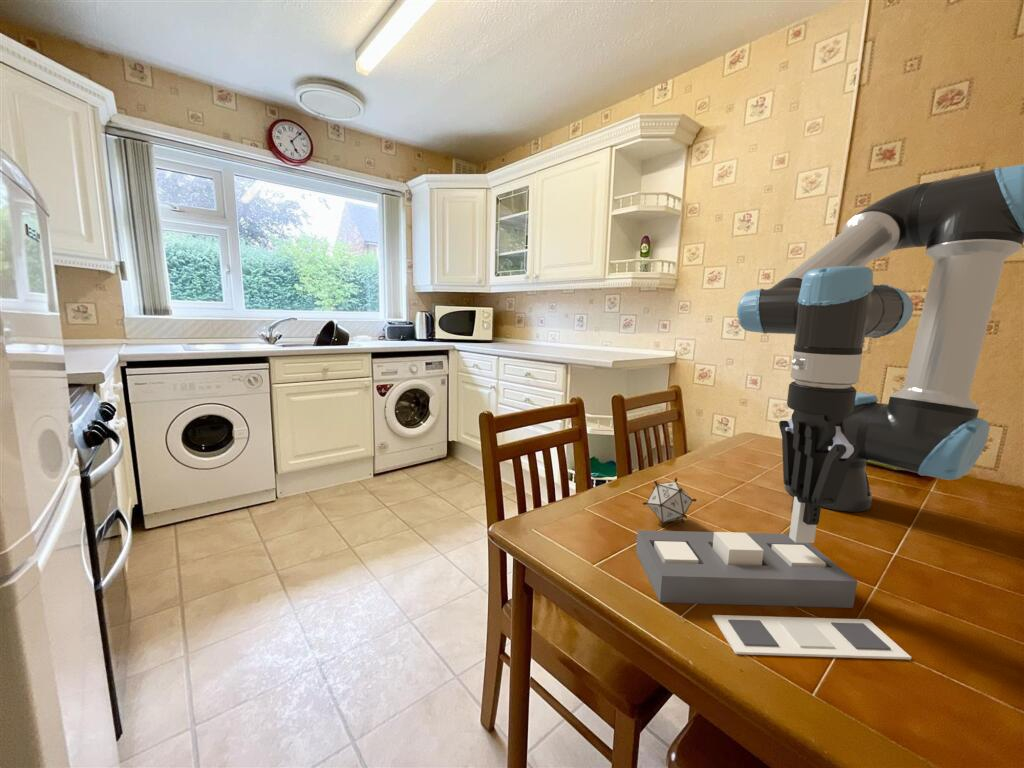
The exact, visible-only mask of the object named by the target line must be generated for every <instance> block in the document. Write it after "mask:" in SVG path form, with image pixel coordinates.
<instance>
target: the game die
mask: <svg viewBox="0 0 1024 768" xmlns="http://www.w3.org/2000/svg"><path fill="white" fill-rule="evenodd" d="M653 484H654V485H655V486H653V487H652V489H653V490H652V491H651V494H649V497H648V499H647V501H646V502H642V505H644V506H645V505H646V506H648V508H649V509H650V510H652V512H653V513H654V514H655V516H656V517H657V518H658V519H659V520H660V521H661V523H660V528H662V527H664V525H665V523H666V524H667V523H670V522H678V521H680V522H681V523H683V524H684V523H685V520H686V519H688V515H686V513H687V512H688V510H689V508H690V506H691V504H692V503H693V502H697V501H698V499H697V498H692V497H691V496H690V495H689V494H688V493H687V492H686V491H685V490H684V488H682V487H681V485H680V484H679V483H678V478H677V477H675V478H674V480H673V481H669V482H668V481H667V482H663V483H662V482H661V483H660V482H659V483H658V482H657V480H653Z"/></svg>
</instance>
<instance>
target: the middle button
mask: <svg viewBox="0 0 1024 768" xmlns="http://www.w3.org/2000/svg"><path fill="white" fill-rule="evenodd" d="M713 532H714V538H713V547H712V548H713V549H714V551H715V552H716V553H717V554H718V556H719V557H720V558H721V559H722V560H723V562H724V563H725V564H726V565H758V566H762V559H763V551H764V550H763V549H762V548H761V547H760V546H759V545H758V544H757V543H756V542H755V541H754V540H753V539H752V538H751V537H749V536H748V535H747V534H746V533H747V532H732V531H726V532H725V531H713Z"/></svg>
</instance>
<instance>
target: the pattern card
mask: <svg viewBox="0 0 1024 768" xmlns="http://www.w3.org/2000/svg"><path fill="white" fill-rule="evenodd" d="M711 617H712V619H713V621H714V622H715V624H716V625H717V627H718V628H719V629H720V632H721V633H722V635H723V637H724V638H725V640H726V641H727V643H728V644H729V646H730V647H731V650H733V653H734V654H735V655H752V656H754V655H755V656H784V657H785V656H786V657H819V658H845V659H846V658H852V659H879V660H880V659H883V660H890V659H891V660H912V656H911V655H909V653H907V652H906V651H905V650H904V649H903V648H902V647H900V646H899V645H898V644H897V643H896V642H895V641H894V640H893V639H891V638H890V637H889V636H888V635H887V634H886V633H884V631H882V630H881V629H880V628H879V627H878V626H876V625H875V623H873V621H871V620H870V619H866V618H860V619H859V618H836V617H835V618H832V617H829V618H828V617H827V618H826V617H800V616H799V617H796V616H794V617H793V616H767V615H765V616H764V615H730V614H728V615H727V614H726V615H725V614H723V615H722V614H712V616H711Z"/></svg>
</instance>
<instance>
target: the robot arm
mask: <svg viewBox="0 0 1024 768" xmlns="http://www.w3.org/2000/svg"><path fill="white" fill-rule="evenodd" d="M1023 245H1024V164H1017V165H1011V166H1004V167H1001V166H1000V167H999V166H998V167H995V168H994V169H989V170H983V171H978V172H974V173H969V174H964V175H958V176H954V177H948V178H944V179H939V180H933V181H929V182H923V183H918V184H914V185H911V186H908V187H905V188H902V189H900V190H898V191H896V192H893V193H891V194H889V195H887V196H885V197H883V198H880V199H879V200H878V201H876V202H874V203H871V204H870V205H869V206H867V207H865V208H864V209H862V210H860V211H859V212H858V213H856V214H855V215H854V216H853V217H851V218H850V219H849V220H848V221H846V223H845V224H844V225H843V226H842V229H841V231H840V233H839V234H838V235H837V236H835V237H834V238H833V239H831V240H830V241H829V242H828V243H827V244H825V245H824V246H822V247H821V248H820V249H818V251H816V252H815V253H813V255H811V256H810V257H809V258H808V259H806V260H804V262H802V263H801V264H799V266H798V267H796V268H795V269H793V270H792V271H791V272H790V273H788V274H787V275H786V276H785V277H784V278H782V279H781V280H779V281H778V282H777V283H776V284H774V285H773V286H772V287H771V288H768V289H766V288H765V289H764V288H759V289H753V290H749V291H747V292H746V293H744V294H743V295H742V297H740V299H739V302H738V305H737V311H736V316H737V319H738V323H739V325H740V327H741V328H742V329H743V330H744V331H747V332H751V333H760V334H761V333H762V334H765V335H766V334H777V335H781V334H784V335H794V336H795V337H794V344H793V355H792V360H791V371H790V377H791V379H792V380H794V381H791V382H790V383H789V384H788V390H787V391H788V392H787V399H786V406H787V407H788V408H789V409H791V411H792V410H793V412H792V414H791V418H790V419H788V420H780V421H779V423H778V425H779V426H778V427H779V430H780V433H781V445H782V447H781V448H782V476H783V484H784V490H785V491H786V492H787V493H788V494H789V495H790V496H792V502H791V508H790V509H791V518H790V519H791V520H790V527H789V533H788V534H789V538H791V539H792V540H793V541H794V542H795V543H810V544H812V543H813V544H814V543H815V540H816V534H817V533H816V532H817V526H818V525H819V523H820V517H821V516H820V515H821V511H822V508H824V509H829V510H834V511H842V512H849V513H850V512H853V513H854V512H857V513H858V512H865V511H868V510H870V509H871V507H872V499H873V496H872V492H871V487H870V483H869V478H868V475H867V470H866V468H867V461H870V462H873V463H877V464H881V465H885V466H890V467H893V468H897V469H899V470H900V469H901V470H904V471H908V472H912V473H916V474H918V475H920V476H921V477H922V476H927V477H933V478H937V479H941V480H946V481H947V480H948V481H953V480H957V479H960V478H963V477H964V476H966V474H967V473H968V472H970V470H971V469H972V468H973V467H974V466H975V464H976V463H977V461H978V460H979V458H980V456H981V454H982V452H983V450H984V448H985V446H986V443H987V441H988V438H989V431H990V424H989V422H988V420H985V419H983V417H978V414H979V411H980V407H979V406H978V405H977V403H975V402H974V401H973V400H972V399H971V398H970V397H971V396H970V395H971V391H972V387H973V383H974V380H975V376H976V371H977V367H978V363H979V360H980V356H981V352H982V349H983V348H982V347H983V344H984V342H985V337H986V333H987V329H988V326H989V322H990V319H991V318H990V317H991V314H992V311H993V306H994V302H995V299H996V295H997V291H998V288H999V283H1000V279H1001V276H1002V272H1003V268H1004V263H1005V261H1006V260H1007V259H1008V258H1010V257H1012V256H1013V255H1015V254H1016V253H1018V252H1020V251H1022V247H1023ZM922 247H926V248H925V252H924V253H925V255H926V256H928V257H929V258H930V259H931V260H932V261H933V265H932V269H931V274H930V277H929V282H928V285H927V289H926V294H925V298H924V302H923V306H922V310H921V314H920V318H919V322H918V326H917V330H916V335H915V338H914V342H913V347H912V351H911V355H910V359H909V363H908V367H907V371H906V375H905V379H904V382H903V383H904V384H903V387H902V388H901V389H900V390H898V391H896V392H894V393H892V394H890V396H889V400H888V403H887V404H886V403H880V402H879V399H878V396H877V395H876V394H874V393H873V394H871V393H867V392H866V393H865V392H857V391H858V390H857V389H856V388H855V387H854V386H852V385H856V384H857V383H859V379H860V372H861V367H862V359H863V358H862V357H863V347H864V341H865V338H872V339H877V338H881V337H885V336H888V335H891V334H894V333H897V332H899V331H900V330H901V329H903V328H904V327H905V326H906V325H907V324H908V323H909V321H910V320H911V318H912V315H913V312H914V305H913V301H912V299H911V297H910V296H909V295H908V294H907V293H906V292H905V291H904V290H902V289H901V288H899V287H898V288H897V287H894V286H890V285H889V284H883V283H882V284H874V282H873V281H874V280H873V279H874V272H873V270H872V269H871V268H870V267H868V266H867V265H868V264H869V263H870V262H872V261H873V260H876V259H880V258H882V257H885V256H887V255H888V254H889V253H890V252H892V251H897V250H904V249H911V248H922Z"/></svg>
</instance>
